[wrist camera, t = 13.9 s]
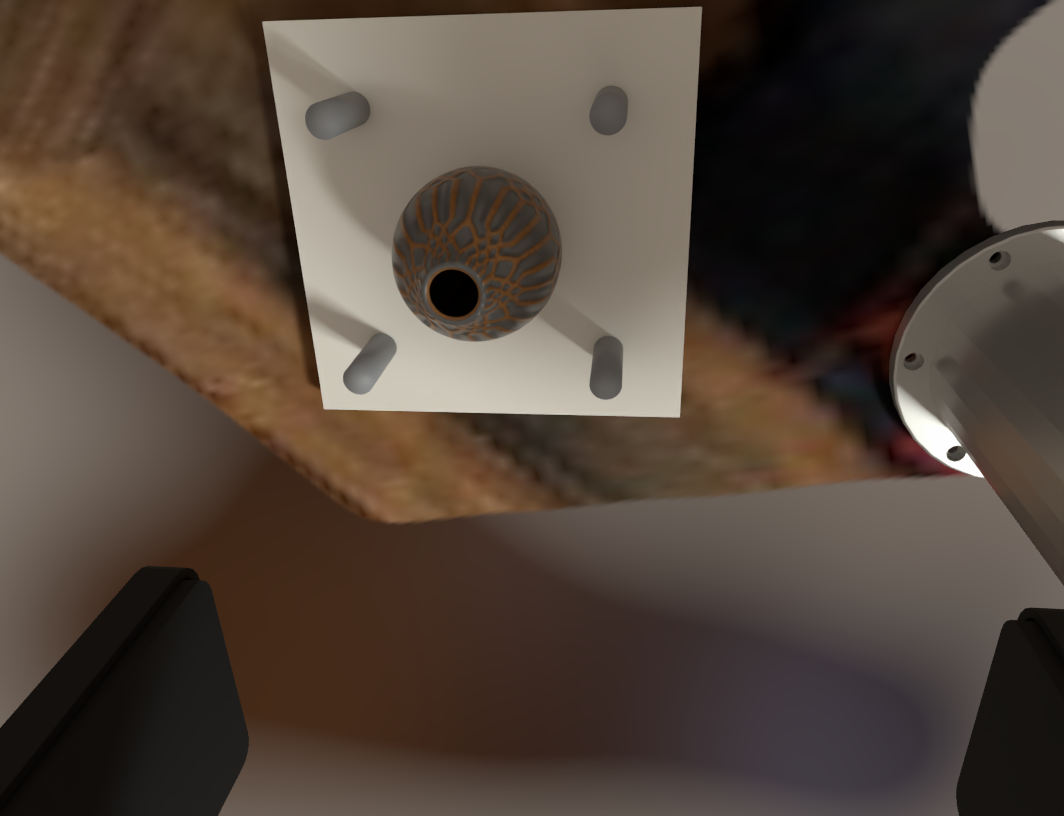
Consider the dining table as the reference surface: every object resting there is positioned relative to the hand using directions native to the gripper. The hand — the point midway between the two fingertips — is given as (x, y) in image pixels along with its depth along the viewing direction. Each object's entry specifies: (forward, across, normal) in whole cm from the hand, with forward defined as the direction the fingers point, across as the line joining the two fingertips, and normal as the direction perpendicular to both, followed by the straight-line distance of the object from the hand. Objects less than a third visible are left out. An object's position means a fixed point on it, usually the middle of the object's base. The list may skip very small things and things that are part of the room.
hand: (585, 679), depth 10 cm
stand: (+30, +6, +2) cm, 31 cm away
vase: (+29, +6, +2) cm, 30 cm away
